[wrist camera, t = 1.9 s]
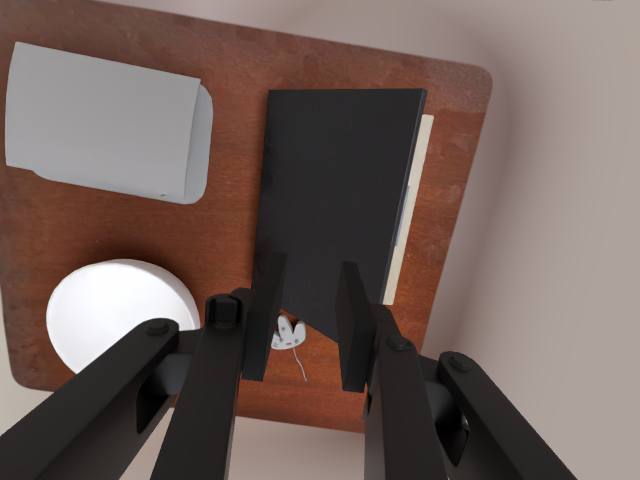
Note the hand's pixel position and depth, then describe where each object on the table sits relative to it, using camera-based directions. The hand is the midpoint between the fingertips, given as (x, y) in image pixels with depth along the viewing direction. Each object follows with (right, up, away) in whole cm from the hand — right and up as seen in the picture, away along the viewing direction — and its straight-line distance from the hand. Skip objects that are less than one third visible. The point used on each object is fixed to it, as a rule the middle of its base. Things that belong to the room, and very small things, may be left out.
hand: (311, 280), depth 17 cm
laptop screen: (0, +5, +18) cm, 18 cm away
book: (-25, +16, +23) cm, 38 cm away
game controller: (-4, -14, +32) cm, 35 cm away
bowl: (-24, -7, +30) cm, 39 cm away
